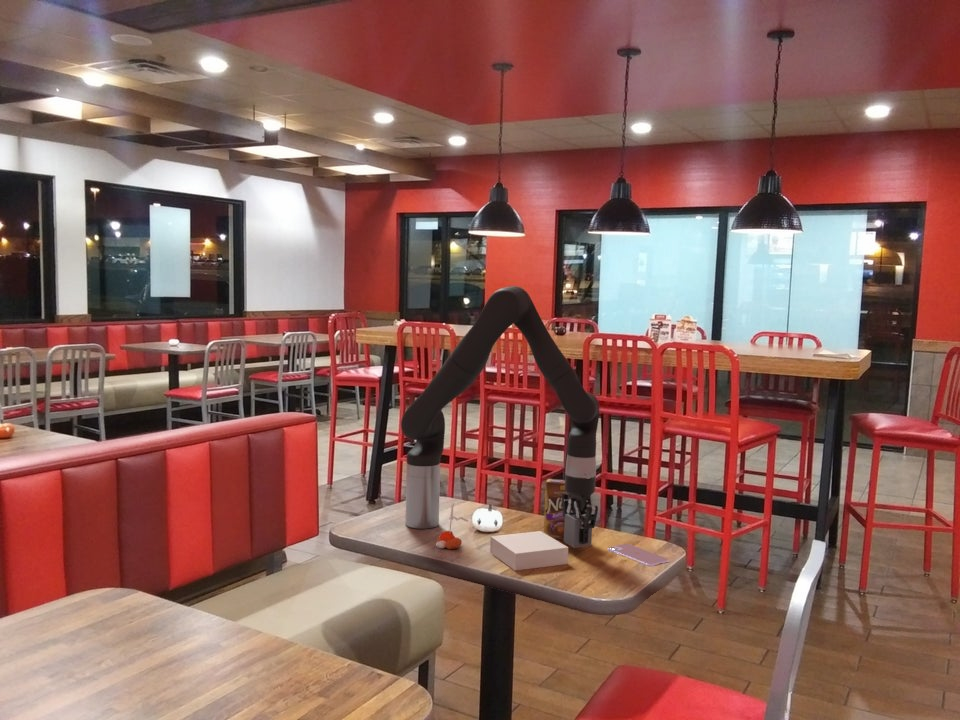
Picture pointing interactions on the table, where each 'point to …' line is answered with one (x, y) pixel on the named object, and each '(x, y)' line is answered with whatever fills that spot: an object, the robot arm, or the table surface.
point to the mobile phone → (638, 554)
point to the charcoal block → (574, 531)
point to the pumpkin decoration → (449, 536)
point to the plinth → (528, 550)
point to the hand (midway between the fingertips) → (577, 539)
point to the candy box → (554, 508)
